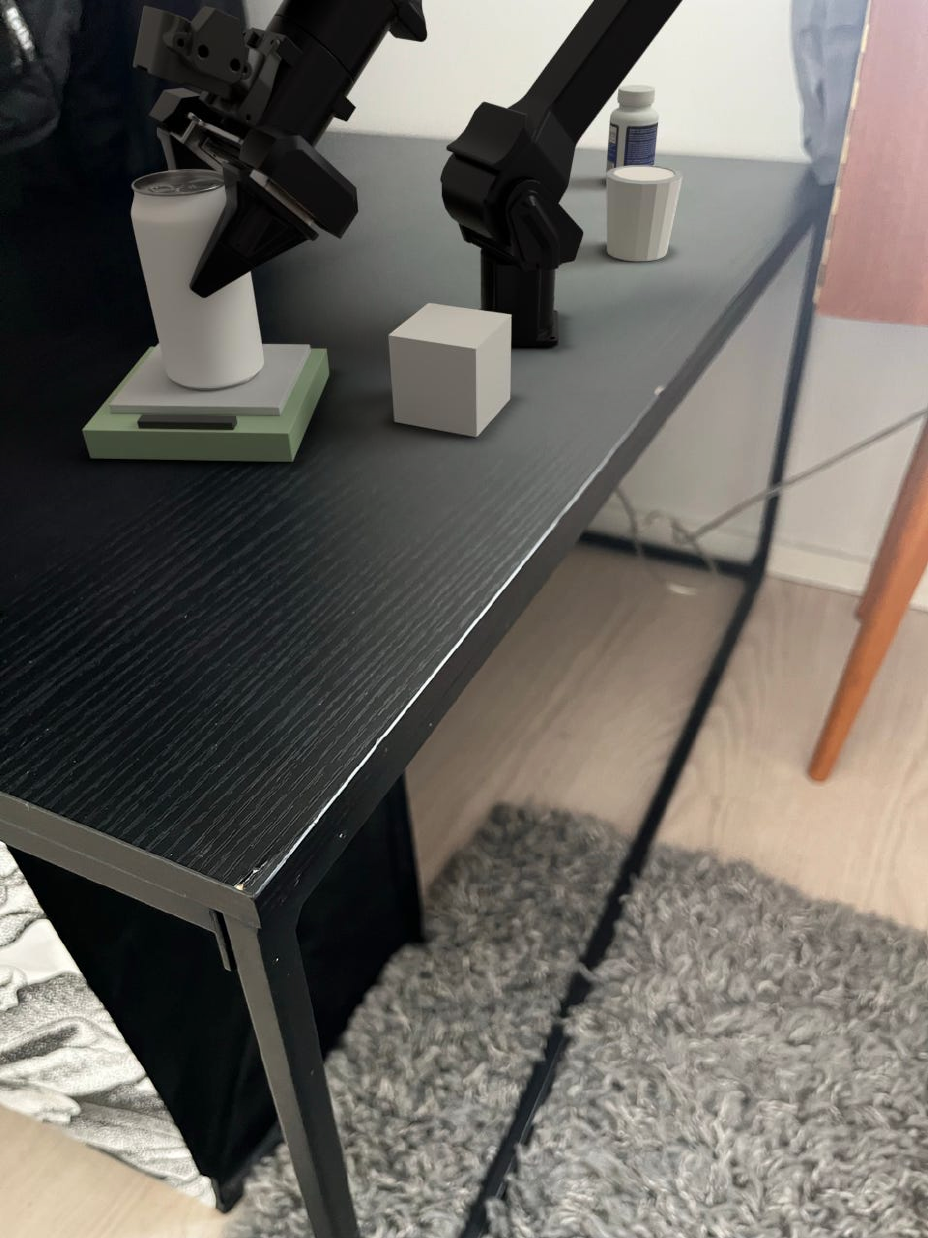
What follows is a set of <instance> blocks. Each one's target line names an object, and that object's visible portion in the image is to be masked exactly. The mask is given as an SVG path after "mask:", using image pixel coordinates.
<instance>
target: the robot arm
mask: <svg viewBox="0 0 928 1238" xmlns="http://www.w3.org/2000/svg"><path fill="white" fill-rule="evenodd" d="M683 1H684V0H593V1H592V2H590V3H591V4H590V5H589V6H588V8H587V9H586V10H585V11H584V12H583V14H582V16H581V17H580V18H579V20H577V23H576V24H575V26H574V27H573V28H572V29H571V30H570V32H569V34H568V35H567V36H566V38H565V39H564V40H563V42H562V43H561V44H560V46H559V47H558V49H557V50H556V52H555V53H553V55H552V57H551V58H550V60H549V61H548V63H547V64H546V65H545V67H544V68H543V69H542V71H541V72H540V74H539V75H538V76H537V78H536V79H535V80H534V82H533V83H532V85H531V86H530V88H529V89H528V90H527V92H526V93H525V94H524V95H523V96H522V97H521V98H520V99H519V100H518V101H516V102H515V103H513V104H511V105H510V106H508V107H505V106H502V105H497V104H495V103H492V102H487V101H482V102H481V103H480V104H479V105H478V107H477V108H476V109H475V110H474V112H473V113H472V115H471V117H470V119H469V120H468V123H467V125H466V126H465V128H464V130H463V131H462V132H461V134H459V136H458V137H457V138H456V139H455V140H453V141H452V142H450V143H449V144H447V145H446V148H445V150H446V151H448V152H450V153H451V154H450V156H449V157H448V159H447V161H446V162H445V164H444V166H443V167H442V171H441V174H440V177H439V182H440V184H441V199H442V203H443V206H444V209H445V210H446V212H447V214H448V216H449V217H450V218H451V219H452V220H453V221H455V222H457V225H458V227H459V230H460V233H461V235H462V238H463V241H464V242H465V243H467V244H472V245H473V246H476V247H477V248H479V249H480V251H479V252H480V253H479V254H480V255H479V256H480V262H479V263H480V309H479V310H482V311H489V312H496V313H503V314H510V315H511V346H519V347H520V346H521V347H523V346H529V347H531V346H535V347H546V346H547V347H555V346H557V345H559V338H560V337H559V313H558V310H556V309H555V289H556V288H555V287H556V270H557V269H559V267H560V266H562V265H563V264H567V263H572V262H574V261H575V260H576V259H577V256H578V252H579V249H580V246H581V244H582V241H583V237H584V230H583V229H582V228H581V226H580V225H579V224H578V223H577V222H576V221H575V220H574V219H573V218H572V217H571V215H570V213H568V212H567V211H566V209H564V207H563V206H562V205H561V204H560V203H561V200H562V199H563V197H564V195H565V193H566V192H567V190H568V187H569V185H570V179H571V173H572V168H573V164H574V158H575V152H576V147H577V146H578V144H579V142H580V140H581V138H582V137H583V136H584V134H585V133H586V132H587V130H588V129H589V127H590V126H591V125H592V124H593V122H594V121H595V119H596V118H597V117H598V115H599V114H600V113H601V111H602V110H603V109H604V107H606V105H607V103H608V102H609V100H610V99H611V98H612V96H613V95H614V94H615V92H616V91H618V90H617V89H619V87H621V84H622V83H623V82H624V80H625V79H626V78H627V76H628V75H629V74H630V73H631V71H632V70H633V68H634V67H635V65H636V64H637V63H638V62H639V60H640V59H641V58H642V56H643V55H644V53H645V52H646V51H647V50H648V49H649V46H651V44H652V43H653V42H654V40H655V38H656V37H657V36H658V35H659V34H660V32H661V30H662V29H663V28H664V26H665V25H666V24H667V22H668V21H669V19H670V18H671V17H672V15H673V14H674V13H675V12H676V10H677V9H678V8H679V6H680V5H681V4H682V2H683ZM388 33H390V34H391V35H392V37H394V38H395V39H400V40H405V41H411V42H417V43H424V42H425V41H426V40H427V39H428V29H427V22H426V17H425V14H424V10H423V0H282V2H281V3H280V5H279V6H278V8H277V10H276V11H275V13H274V14H273V16H272V17H271V19H270V21H269V22H268V25H267V26H266V28H265V29H261V28H256V27H251V28H246V29H244V30H243V25H242V20H241V19H240V18H238V17H237V16H233V15H232V14H229V13H227V12H226V11H223V10H221V9H218V8H215V7H210V6H207V5H204V6H202V8H201V9H200V10H199V11H198V13H197V14H196V15H195V16H194V18H193V19H192V20H189V19H188V18H186V17H184V16H182V15H177V14H174V13H171V12H169V11H166V10H163V9H159V8H156V7H152V6H148V5H144V6H143V9H142V14H141V20H140V26H139V31H138V36H137V40H136V41H137V43H136V47H135V52H134V58H133V62H132V67H133V68H135V69H137V70H140V71H142V72H145V73H148V74H150V75H152V76H154V77H157V78H160V79H163V80H165V81H167V82H170V83H173V84H175V85H178V86H183V85H189V86H191V87H193V88H197V89H199V90H202V92H201V94H199V93H197V92H194V91H192V90H189V89H188V88H184V87H177V88H169V89H163V90H162V92H161V94H160V96H159V97H158V99H157V101H156V102H155V103H154V105H153V107H152V109H151V111H150V112H149V114H148V116H149V117H150V118H151V119H152V120H153V121H154V122H156V123H157V124H158V125H159V126H160V127H162V128H160V127H156V136H157V138H158V140H160V142H161V146H162V148H163V152H164V155H165V159H166V162H167V171H171V170H183V169H205V170H213V171H218V172H222V173H223V177H224V184H225V191H226V204H225V207H224V209H223V211H222V213H221V215H220V217H219V219H218V222H217V224H216V226H215V228H214V230H213V232H212V234H211V237H210V239H209V241H208V243H207V245H206V247H205V249H204V252H203V254H202V256H201V258H200V260H199V262H198V265H197V267H196V270H195V272H194V275H193V277H192V280H191V282H190V285H189V287H190V290H192V291H193V292H194V293H196V294H197V295H199V296H200V297H202V298H207V297H209V296H210V295H212V294H213V293H215V292H217V291H218V290H220V289H222V288H223V287H225V286H227V285H228V284H230V283H232V282H233V281H235V280H237V279H238V278H240V277H242V276H243V275H245V274H247V273H248V272H250V271H251V272H252V271H253V270H255V269H257V268H258V267H260V266H262V265H263V264H266V263H267V262H269V261H271V260H272V259H275V258H276V257H278V256H281V255H282V254H284V253H286V252H288V251H289V250H291V249H293V248H295V247H297V246H299V245H302V244H303V243H305V242H307V241H312V242H315V241H316V240H317V239H318V238H319V237H320V234H319V233H318V231H316V230H315V229H313V227H311V226H312V224H314V225H316V226H317V227H318V228H319V229H321V230H323V231H324V232H326V233H328V234H330V235H332V236H333V237H336V238H338V239H339V240H341V239H342V238H343V236H344V235H345V233H346V232H347V230H348V229H349V228H350V225H351V224H352V222H353V221H354V219H355V218H356V216H357V215H358V214H359V202H358V191H357V186H356V185H355V184H353V183H352V182H351V181H350V180H349V179H348V178H347V177H346V176H344V175H343V174H342V172H341V171H339V170H338V169H337V168H336V167H335V166H334V165H333V164H332V163H331V162H330V161H328V160H327V158H325V157H324V156H323V155H322V154H321V153H320V152H318V150H316V147H317V145H318V143H319V142H320V140H321V139H322V137H323V136H324V134H325V132H326V131H327V129H328V128H329V126H330V124H331V123H332V121H333V120H334V118H335V119H338V120H340V121H342V122H346V123H348V122H349V120H350V118H351V116H352V115H353V113H354V112H355V110H356V108H357V107H356V105H355V104H353V102H352V101H351V100H350V99H349V98H348V97H349V94H350V93H351V91H352V90H353V88H354V87H355V85H356V83H357V81H358V80H359V78H360V77H361V75H362V74H363V72H364V71H365V69H366V68H367V66H368V64H369V62H370V61H371V59H372V58H373V56H374V55H375V53H376V52H377V51H378V49H379V47H380V45H381V44H382V42H383V41H384V39H385V37H386V36H387V34H388Z"/></svg>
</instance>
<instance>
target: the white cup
mask: <svg viewBox="0 0 928 1238" xmlns="http://www.w3.org/2000/svg"><path fill="white" fill-rule="evenodd" d="M683 177H684V175H683V173H682V172H681V171H679V170H677V169H675V168H671V167H668V166H662V165H654V166H653V165H629V166H621V167H617V168H614V169H610V170H609V171H608V172H607V173H606V172H605V184H606V185H605V186H606V191H605V192H606V252H607V254H608V255H609V256H611V257H613V258H615V259H618V260H622V261H629V262H651V261H656V260H657V261H658V260H660V259H662V258H664V257H665V256H666V255H667V254H668V250H669V246H670V245H669V244H670V239H671V235H672V230H673V225H674V220H675V215H676V212H677V211H676V210H677V207H678V206H677V205H678V201H679V196H680V191H681V186H682V181H683Z"/></svg>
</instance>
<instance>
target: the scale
mask: <svg viewBox="0 0 928 1238" xmlns="http://www.w3.org/2000/svg"><path fill="white" fill-rule="evenodd" d="M262 348H263V355H264V365H263V367H262V369H261V370H260V372H259V373H258V375H257V376H256V377H255V378H253V379H252V380H250V381H248V382H246V383H244V384H241V385H239V386H235V387H232V388H227V389H221V390H210V391H202V390H192V389H187V388H184V387H181V386H179V385H178V384H176V383H175V382H174V381H173V380H171V379H170V378H169V377H168V375H167V372H166V368H165V364H164V360H163V356H162V352H161V347H160V343H159V342H158V343H157V344H156V346H149V347H148V349H147V350H146V351H145V353H144V354H143V355H142V356H141V357H140V359H139V360H138V361H137V362H136V363H135V365H134V366H133V367H132V368H131V370H130V371H129V372H128V374H126V376H125V377H124V378H123V380H122V381H121V382H120V383H119V384H118V385H117V386H116V388H115V389H114V390H113V392H112V393H111V394H110V395H109V397H108V398H107V399H106V400H105V401H104V403H103V404H102V405H101V406H100V408H99V409H98V410H97V411H96V412H95V414H94V415H93V416H92V417H91V419H89V421H88V422H87V424H85V426H84V427H83V428H82V430H81V432H82V434H83V437H84V440H85V445H86V448H87V451H88V454H89V458H90V459H104V460H105V459H110V460H112V459H113V460H119V459H120V460H158V461H159V460H163V461H164V460H165V461H166V460H167V461H215V462H216V461H219V462H221V461H222V462H224V461H225V462H270V463H271V462H272V463H273V462H275V463H279V462H280V463H293V462H294V461H295V457H296V455H297V452H298V450H299V448H300V446H301V443H302V441H303V438H304V436H305V433H306V431H307V429H308V427H309V424H310V422H311V419H312V417H313V415H314V412H315V411H316V410H315V409H316V407H317V405H318V403H319V400H320V398H321V396H322V393H323V392H324V388H325V386H326V384H327V381H328V379H329V377H330V366H329V359H328V349H327V348H311V345H310V344H306V343H304V344H302V343H301V344H300V343H299V344H298V343H297V344H296V343H262Z"/></svg>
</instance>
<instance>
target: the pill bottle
mask: <svg viewBox="0 0 928 1238" xmlns="http://www.w3.org/2000/svg"><path fill="white" fill-rule="evenodd" d="M617 89H618V90H617V98H616V100H617V104H618V107H616V108H615V109H613V110H612V112H611V113H610V116H609V124H608V125H609V126H608V137H607V139H608V140H607V155H606V169H605V174H606V173H607V172H608V171H609V170H610V169H614V168H617V167H621V166H629V165H653V166H655V158H656V149H657V137H658V129H659V119H660V117H659V113H658V111H657V110H656V109H654V108H653V107H652V105H653V103H655V96H656V89H655V87H654V86H653V85H652V86H651V85H644V84H629V85H622V86H619V87H618V88H617Z"/></svg>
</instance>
